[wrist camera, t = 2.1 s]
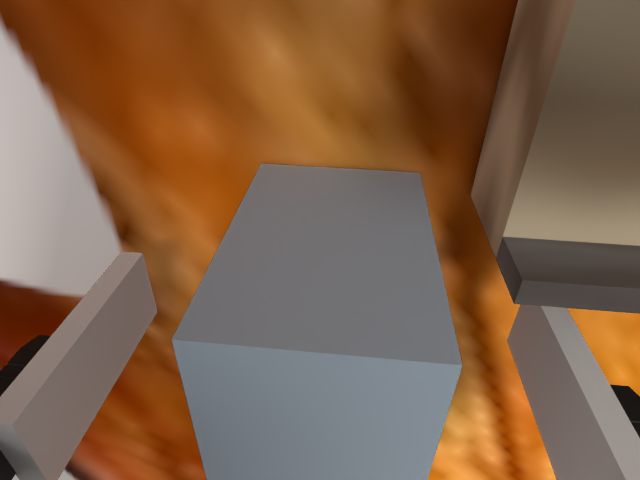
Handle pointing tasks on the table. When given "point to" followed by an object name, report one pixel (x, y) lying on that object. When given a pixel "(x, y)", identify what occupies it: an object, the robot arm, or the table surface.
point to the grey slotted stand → (566, 156)
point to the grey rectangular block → (321, 332)
